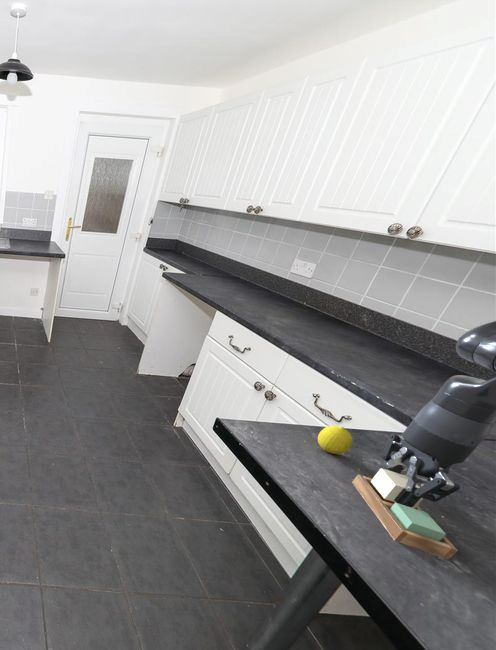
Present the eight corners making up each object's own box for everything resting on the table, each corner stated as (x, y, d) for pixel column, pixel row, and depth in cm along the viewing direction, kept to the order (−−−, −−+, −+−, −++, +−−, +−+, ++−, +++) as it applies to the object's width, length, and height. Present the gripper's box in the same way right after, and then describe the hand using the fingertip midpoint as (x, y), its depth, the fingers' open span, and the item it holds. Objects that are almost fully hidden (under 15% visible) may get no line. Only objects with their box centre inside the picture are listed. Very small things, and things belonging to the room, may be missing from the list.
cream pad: (398, 490, 69) (410, 476, 68) (414, 508, 65) (427, 494, 64) (370, 481, 71) (380, 467, 69) (384, 499, 67) (395, 485, 65)
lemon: (346, 464, 79) (365, 439, 76) (318, 456, 81) (335, 431, 78) (333, 448, 84) (350, 423, 81) (307, 440, 86) (322, 416, 82)
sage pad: (414, 526, 65) (427, 512, 63) (432, 548, 61) (446, 534, 59) (383, 515, 66) (395, 502, 64) (399, 536, 62) (412, 522, 61)
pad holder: (394, 498, 71) (402, 487, 70) (447, 561, 59) (458, 550, 58) (350, 483, 74) (357, 473, 72) (392, 542, 62) (402, 531, 60)
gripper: (513, 465, 54) (445, 533, 61) (442, 413, 66) (393, 474, 73) (449, 448, 56) (391, 515, 63) (393, 401, 69) (349, 461, 75)
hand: (392, 493), depth 68 cm, fingers closed on cream pad, 4 cm apart
